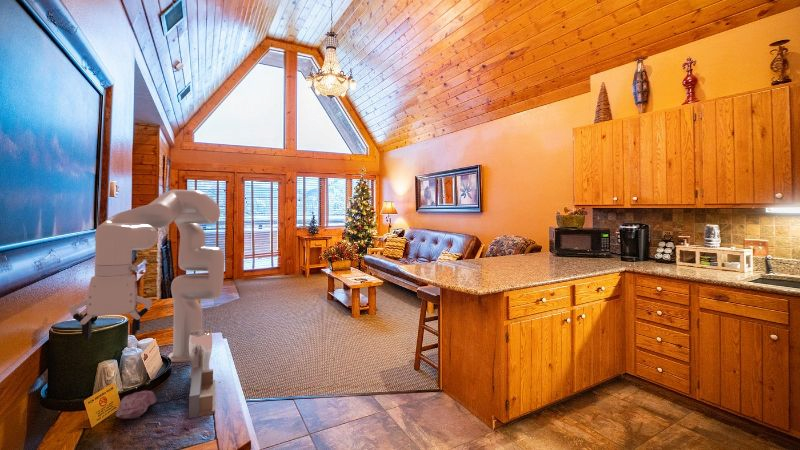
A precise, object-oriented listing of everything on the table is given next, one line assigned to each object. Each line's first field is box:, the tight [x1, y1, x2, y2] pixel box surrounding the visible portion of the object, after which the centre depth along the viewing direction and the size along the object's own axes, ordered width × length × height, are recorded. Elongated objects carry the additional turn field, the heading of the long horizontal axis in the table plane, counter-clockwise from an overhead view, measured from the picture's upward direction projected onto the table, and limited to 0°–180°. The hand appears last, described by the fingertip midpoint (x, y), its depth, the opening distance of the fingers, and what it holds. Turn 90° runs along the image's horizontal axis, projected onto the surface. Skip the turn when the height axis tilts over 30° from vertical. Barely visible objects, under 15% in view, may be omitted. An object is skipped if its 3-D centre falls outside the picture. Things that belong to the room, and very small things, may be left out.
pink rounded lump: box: [115, 390, 157, 420], centre depth 98 cm, size 8×14×5 cm, turn 22°
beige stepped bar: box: [188, 366, 216, 419], centre depth 105 cm, size 20×6×6 cm, turn 28°
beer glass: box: [189, 329, 213, 381], centre depth 119 cm, size 7×7×15 cm
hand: (111, 335), depth 92 cm, fingers open, 9 cm apart
